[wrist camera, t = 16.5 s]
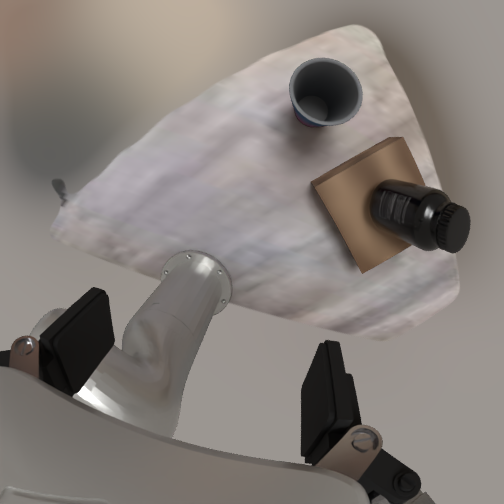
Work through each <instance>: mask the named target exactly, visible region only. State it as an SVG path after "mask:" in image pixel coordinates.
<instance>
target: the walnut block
mask: <svg viewBox="0 0 504 504" xmlns="http://www.w3.org/2000/svg"><path fill="white" fill-rule="evenodd" d="M387 179H396V180H401V181H406V182H410V183H414V184H419V185H423V186H425V183H424V181H423V178H422V176H421V174H420V171H419V169H418V167H417V165H416V163H415V160H414V158H413V156H412V154H411V152H410V150H409V148H408V146H407V144H406V142H405V140H404V138H403V137H389V138H387V139H385V140H383V141H381V142H380V143H378V144H376V145H374V146H372V147H371V148H369V149H367V150H365V151H363V152H362V153H360V154H358V155H356V156H355V157H353V158H351V159H349V160H348V161H346V162H344V163H342V164H341V165H339V166H337V167H335V168H334V169H332V170H330V171H328V172H327V173H325V174H323V175H322V176H320V177H318V178H316V179H315V180H313V181H311V183H312V184H313V186H314V188H315V189H316V191H317V193H318V194H319V196H320V198H321V199H322V201H323V203H324V205H325V206H326V208H327V210H328V212H329V213H330V215H331V217H332V219H333V220H334V222H335V224H336V226H337V228H338V229H339V231H340V233H341V235H342V237H343V239H344V240H345V242H346V244H347V246H348V248H349V250H350V252H351V254H352V256H353V257H354V259H355V261H356V263H357V265H358V267H359V269H360V271H361V273H362V274H363V273H365V272H366V271H368V270H370V269H372V268H374V267H375V266H377V265H379V264H381V263H382V262H384V261H386V260H388V259H389V258H391V257H393V256H394V255H396V254H398V253H399V252H401V251H403V250H404V249H406V248H408V247H409V246H411V244H409V243H407V242H405V241H403V240H401V239H399V238H397V237H395V236H393V235H391V234H389V233H386V232H384V231H382V230H380V229H379V228H378V227H376V225H375V224H374V223H373V221H372V219H371V216H370V211H369V204H370V199H371V195H372V193H373V191H374V189H375V188H376V187H377V185H378V184H380V183H381V182H382V181H384V180H387Z"/></svg>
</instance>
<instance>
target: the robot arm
mask: <svg viewBox="0 0 504 504" xmlns="http://www.w3.org/2000/svg"><path fill="white" fill-rule="evenodd" d="M190 255H191V256H190ZM220 270H221V271H220ZM231 293H232V284H231V279H230V276H229V274H228V272H227V271H226V269H225V268H224V266H223V265H222V264H221V263H220V262H219V261H218V260H216V259H215V258H214V257H212V256H210V255H208V254H206V253H203V252H200V251H193V250H191V251H183V252H180V253H178V254H176V255H174V256H173V257H172V258H170V259H169V260H168V262H167V263H166V264H165V266H164V268H163V270H162V273H161V284H160V285H159V286H158V287H157V288H156V290H155V291H154V292H153V293H152V294H151V296H150V297H149V298H148V299H147V300H146V302H145V303H144V304H143V305H142V306H141V308H140V309H139V310H138V311H137V313H136V314H135V315H134V316H133V318H132V319H131V320H130V321H129V323H128V324H127V326H126V328H125V331H124V334H123V340H122V350H120V349H119V348H117V347H116V346H115V345H114V342H115V338H114V332H113V326H112V319H111V312H110V306H109V297H108V295H107V294H106V292H105V291H104V290H102V289H99V288H95V287H93V288H91V289H90V290H89V291H88V292H87V293H85V294H84V295H83V296H82V297H81V298H80V299H79V300H78V301H76V302H75V303H74V304H73V305H72V306H71V307H70V308H68V309H63V308H59V309H54V310H52V311H50V312H48V313H47V314H45V315H44V316H43V317H42V318H41V319H40V320H39V322H38V323H37V324H36V326H35V327H34V328H33V330H32V332H31V333H30V335H29V336H22V337H19V338H18V339H16V340H15V341H14V342H13V344H12V346H11V350H6V351H0V504H435V503H434V501H433V500H432V499H431V498H430V496H429V495H428V494H427V493H426V492H424V493H422V491H421V490H420V488H421V480H420V477H419V476H418V474H417V473H416V472H414V471H413V470H411V469H410V468H408V467H407V466H406V465H404V464H403V463H401V462H400V461H398V460H397V459H396V458H394V457H393V456H391V455H390V454H388V453H387V452H386V451H384V450H383V449H382V444H383V440H382V437H381V435H380V433H379V432H378V431H377V430H376V429H375V428H373V427H370V426H367V425H362V423H361V417H360V412H359V406H358V401H357V396H356V391H355V386H354V381H353V377H352V375H351V374H347V373H346V372H345V367H344V362H343V357H342V352H341V347H340V343H339V342H337V341H330V340H326V341H325V342H324V343H320V344H319V346H318V349H317V351H316V354H315V356H314V359H313V361H312V364H311V366H310V368H309V371H308V373H307V376H306V378H305V380H304V382H303V385H302V389H301V456H303V457H305V463H309V464H312V466H309V465H305V464H296V463H290V462H282V461H274V460H268V459H261V458H254V457H248V456H243V455H238V454H232V453H227V452H222V451H217V450H213V449H209V448H205V447H200V446H197V445H193V444H189V443H186V442H182V441H179V440H176V439H172V437H173V435H174V432H175V430H176V427H177V424H178V419H179V414H180V408H181V401H182V395H183V390H184V386H185V383H186V380H187V377H188V374H189V371H190V369H191V366H192V364H193V361H194V359H195V356H196V354H197V352H198V349H199V347H200V345H201V342H202V340H203V338H204V335H205V333H206V331H207V328H208V326H209V323H210V321H211V319H212V316H213V315H216V314H218V313H219V312H221V311H222V310H223V309H224V308H225V307H226V305H227V304H228V302H229V300H230V297H231Z"/></svg>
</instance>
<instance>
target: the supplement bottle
mask: <svg viewBox="0 0 504 504" xmlns="http://www.w3.org/2000/svg"><path fill="white" fill-rule="evenodd" d="M369 211H370V216H371V219H372V221H373V223H374V224H375V225H376V227H378V228H379V229H380V230H382V231H384V232H386V233H389V234H391V235H393V236H395V237H397V238H399V239H401V240H403V241H405V242H407V243H409V244H411V245H414V246H416V247H418V248H420V249H422V250H425V251H433V250H436V249H438V248H440V249H442V250H445V251H447V252H450V253H456V252H458V251H460V250H461V248H462V247H463V246H464V244H465V242H466V241H467V238H468V235H469V230H470V216H469V213H468V210H467V209H466V208H464V207H462V206H460V205H457V204H455V203H453V202H451V200H450V199H449V197H448V196H447V195H446V194H445V193H444V192H443V191H441V190H438V189H435V188H431V187H427V186H423V185H419V184H414V183H410V182H406V181H401V180H396V179H387V180H384V181H382V182H381V183H380V184H378V185H377V187H376V188H375V189H374V191H373V193H372V195H371V199H370V204H369Z"/></svg>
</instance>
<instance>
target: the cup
mask: <svg viewBox="0 0 504 504" xmlns="http://www.w3.org/2000/svg"><path fill="white" fill-rule="evenodd" d="M289 92H290V97H291V101H292V104H293V107H294V111H295V114H296V117H297V118H298V120H299V121H300V122H301V123H303V124H304V125H306V126H309V127H319V126H333V125H339V124H343V123H345V122H347V121H349V120H350V119H351V118H353V117H354V116H355V115H356V113H357V112H358V111H359V108H360V106H361V103H362V95H363V92H362V87H361V84H360V82H359V79H358V78H357V76H356V75H355V73H354V72H353V71H352V70H351V69H350V68H349V67H347V66H346V65H345V64H343V63H341V62H339V61H337V60H333V59H329V58H315V59H311V60H308V61H306V62H304V63H303V64H301V65H300V66H299V67H298V68H297V69H296V70H295V71H294V73H293V75H292V77H291V80H290V84H289Z"/></svg>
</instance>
